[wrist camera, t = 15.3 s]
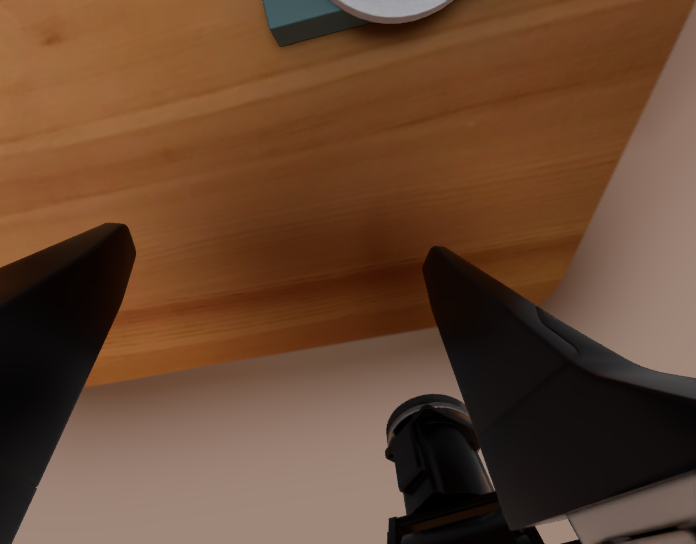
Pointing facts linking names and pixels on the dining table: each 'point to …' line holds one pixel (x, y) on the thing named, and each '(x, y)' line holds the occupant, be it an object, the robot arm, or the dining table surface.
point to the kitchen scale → (339, 15)
